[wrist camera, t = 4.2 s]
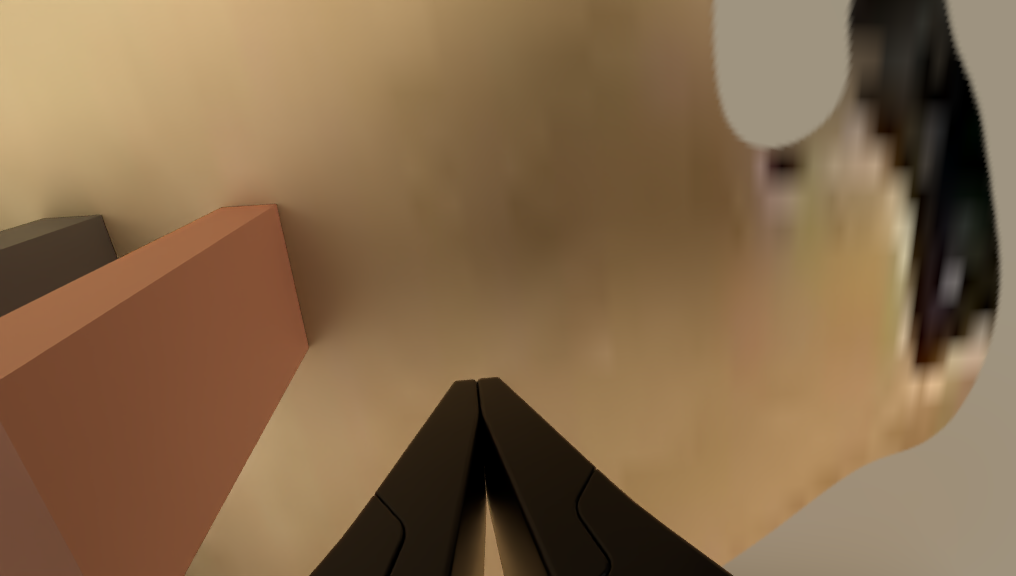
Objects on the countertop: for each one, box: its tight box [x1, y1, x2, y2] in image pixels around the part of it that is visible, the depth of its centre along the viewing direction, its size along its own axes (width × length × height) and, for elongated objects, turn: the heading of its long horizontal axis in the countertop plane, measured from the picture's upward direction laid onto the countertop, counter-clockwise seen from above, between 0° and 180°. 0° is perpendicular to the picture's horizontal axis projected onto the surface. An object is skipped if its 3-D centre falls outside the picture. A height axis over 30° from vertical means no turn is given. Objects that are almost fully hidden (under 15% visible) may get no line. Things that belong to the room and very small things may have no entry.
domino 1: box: [0, 204, 309, 576], centre depth 11 cm, size 2×5×10 cm, turn 2°
